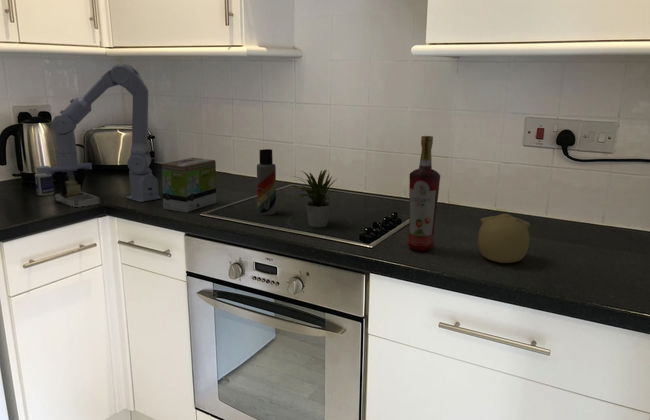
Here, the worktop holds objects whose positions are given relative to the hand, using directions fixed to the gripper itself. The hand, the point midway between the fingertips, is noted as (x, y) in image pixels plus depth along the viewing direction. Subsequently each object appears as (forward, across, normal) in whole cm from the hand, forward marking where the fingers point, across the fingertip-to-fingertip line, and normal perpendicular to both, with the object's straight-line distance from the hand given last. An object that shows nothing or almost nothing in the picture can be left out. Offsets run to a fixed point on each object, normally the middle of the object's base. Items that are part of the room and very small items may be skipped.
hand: (71, 192), depth 176 cm
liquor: (+3, -36, +112) cm, 118 cm away
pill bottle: (+3, +2, -15) cm, 15 cm away
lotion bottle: (+3, -34, +59) cm, 68 cm away
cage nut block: (+2, 0, 0) cm, 2 cm away
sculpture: (+3, -44, +130) cm, 137 cm away
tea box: (+3, -22, +35) cm, 42 cm away
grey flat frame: (+2, 0, +4) cm, 4 cm away
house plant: (+3, -36, +78) cm, 86 cm away
